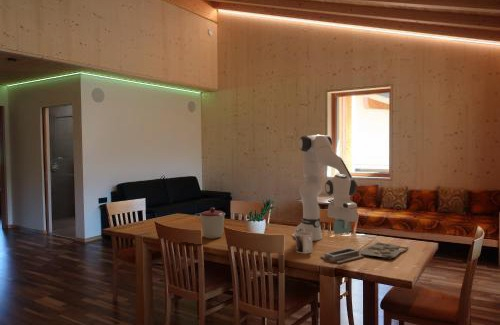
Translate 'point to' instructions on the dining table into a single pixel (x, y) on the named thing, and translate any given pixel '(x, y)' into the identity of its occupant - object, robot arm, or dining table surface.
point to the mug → (304, 242)
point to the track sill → (342, 255)
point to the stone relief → (383, 250)
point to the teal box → (341, 227)
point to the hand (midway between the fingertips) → (342, 227)
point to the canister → (212, 223)
